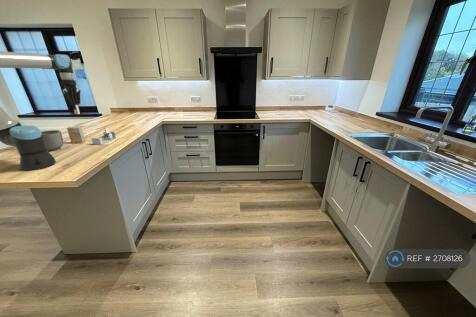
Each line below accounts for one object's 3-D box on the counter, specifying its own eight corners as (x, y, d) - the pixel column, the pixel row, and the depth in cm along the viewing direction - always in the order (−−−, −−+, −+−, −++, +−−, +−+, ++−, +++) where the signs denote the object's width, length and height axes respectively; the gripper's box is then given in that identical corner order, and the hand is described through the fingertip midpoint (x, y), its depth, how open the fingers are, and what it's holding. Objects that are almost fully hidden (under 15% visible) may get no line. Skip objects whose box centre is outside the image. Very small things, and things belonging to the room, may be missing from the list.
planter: (36, 151, 140) (29, 133, 135) (59, 145, 152) (53, 129, 147) (48, 153, 135) (41, 135, 130) (70, 147, 147) (65, 131, 142)
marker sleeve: (110, 138, 165) (107, 128, 162) (104, 138, 166) (101, 128, 162) (112, 137, 168) (110, 127, 165) (107, 137, 169) (104, 127, 165)
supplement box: (71, 143, 156) (66, 127, 152) (74, 142, 161) (69, 126, 156) (83, 143, 159) (78, 127, 154) (85, 141, 163) (81, 126, 158)
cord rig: (101, 144, 155) (99, 137, 152) (92, 144, 155) (90, 137, 153) (117, 138, 173) (116, 131, 170) (109, 137, 173) (107, 131, 171)
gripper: (64, 79, 128) (74, 115, 136) (81, 80, 140) (89, 113, 149) (54, 79, 129) (64, 114, 137) (72, 79, 141) (80, 112, 149)
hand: (77, 113), depth 143 cm, fingers closed
